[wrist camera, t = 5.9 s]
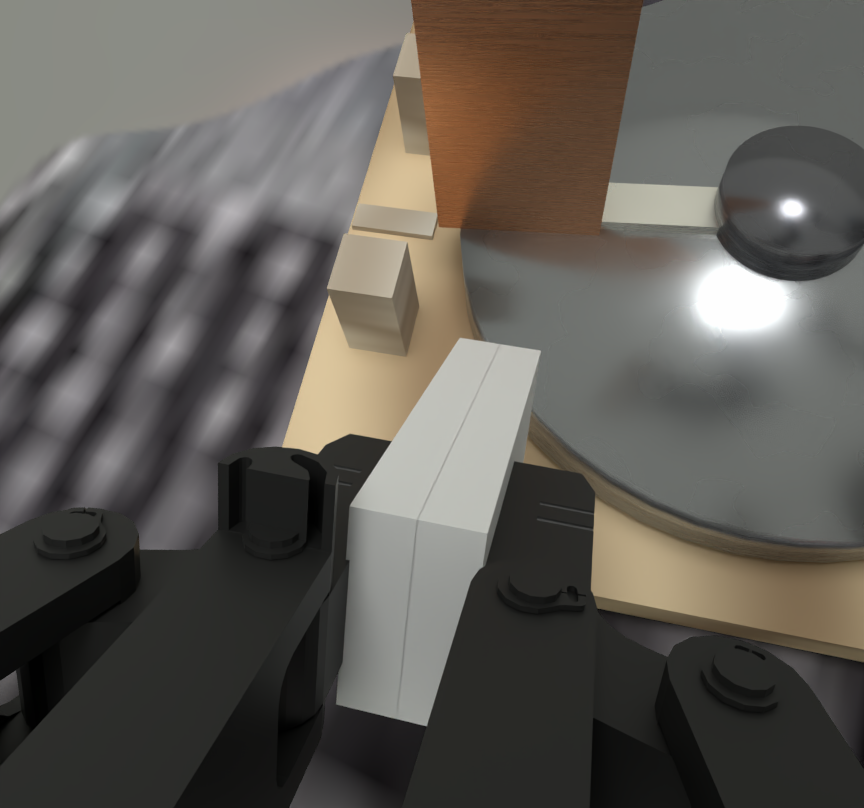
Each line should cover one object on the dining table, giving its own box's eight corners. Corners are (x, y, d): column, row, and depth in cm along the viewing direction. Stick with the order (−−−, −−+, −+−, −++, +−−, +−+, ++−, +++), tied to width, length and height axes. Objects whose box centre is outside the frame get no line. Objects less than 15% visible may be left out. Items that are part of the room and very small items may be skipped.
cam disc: (1033, 51, 23) (1381, -406, 14) (1167, 599, 17) (1954, 422, 8) (476, 39, 25) (461, -366, 16) (409, 523, 19) (322, 313, 10)
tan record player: (1219, 98, 24) (1366, -36, 20) (1368, 764, 17) (1648, 769, 13) (426, 28, 28) (413, -96, 24) (273, 542, 21) (216, 492, 17)
